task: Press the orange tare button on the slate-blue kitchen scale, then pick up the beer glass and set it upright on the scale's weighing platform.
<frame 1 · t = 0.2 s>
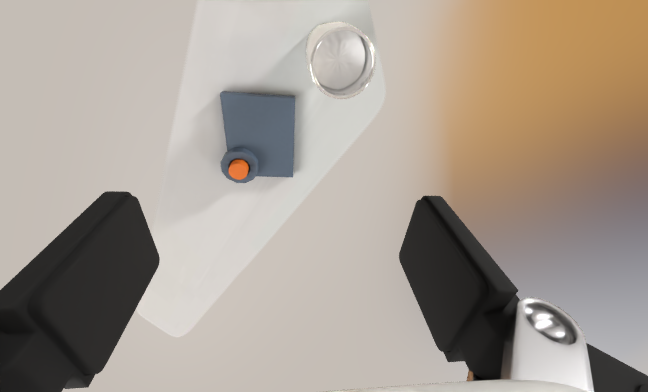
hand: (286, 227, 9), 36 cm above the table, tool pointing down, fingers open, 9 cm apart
scale: (261, 136, 45), on the table
tare button: (238, 169, 44), point 4 cm above the table, slide at 0.1 cm
beer glass: (327, 47, 39), on the table
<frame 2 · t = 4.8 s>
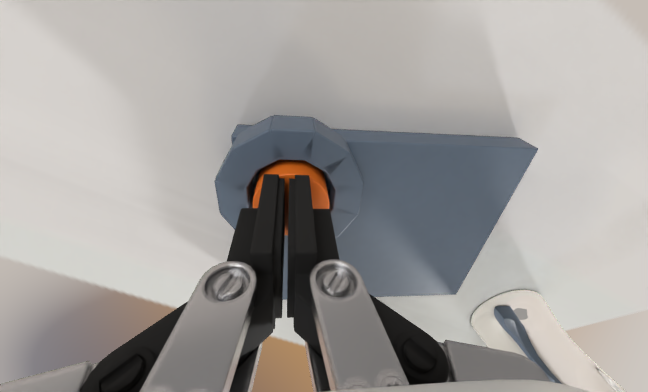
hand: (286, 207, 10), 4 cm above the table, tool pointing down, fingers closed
scale: (367, 220, 16), on the table
tare button: (291, 195, 11), point 3 cm above the table, slide at -0.7 cm, touching gripper
beer glass: (503, 309, 23), on the table
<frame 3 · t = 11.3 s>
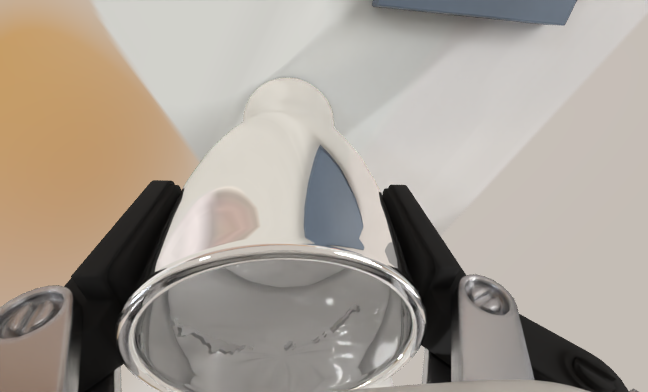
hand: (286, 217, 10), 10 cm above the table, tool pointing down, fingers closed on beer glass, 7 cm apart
beer glass: (289, 123, 18), on the table, touching gripper
when the fingers open (12 cm above the table, at t = 17.9 s): beer glass stays where it is, resting on scale.
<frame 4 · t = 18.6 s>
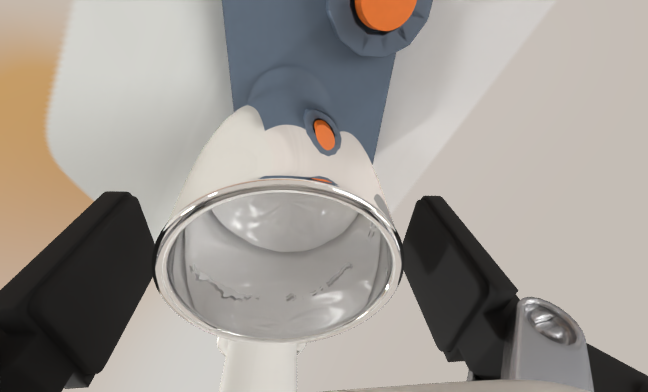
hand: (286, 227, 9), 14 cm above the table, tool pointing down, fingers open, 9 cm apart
scale: (311, 71, 19), on the table
beer glass: (290, 110, 20), point 1 cm above the table, touching scale
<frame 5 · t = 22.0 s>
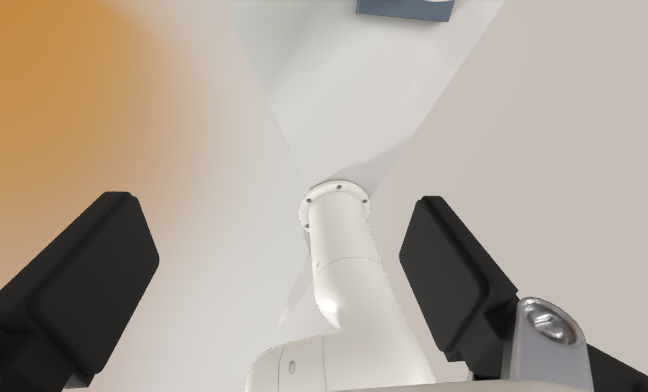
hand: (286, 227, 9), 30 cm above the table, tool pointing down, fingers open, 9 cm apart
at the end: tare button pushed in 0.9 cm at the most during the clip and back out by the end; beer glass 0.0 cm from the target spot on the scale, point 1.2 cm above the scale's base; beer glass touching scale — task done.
